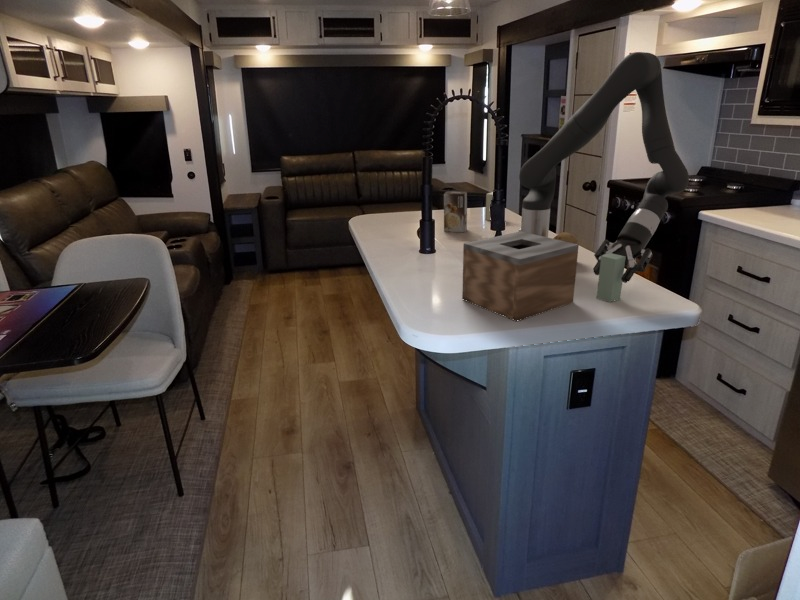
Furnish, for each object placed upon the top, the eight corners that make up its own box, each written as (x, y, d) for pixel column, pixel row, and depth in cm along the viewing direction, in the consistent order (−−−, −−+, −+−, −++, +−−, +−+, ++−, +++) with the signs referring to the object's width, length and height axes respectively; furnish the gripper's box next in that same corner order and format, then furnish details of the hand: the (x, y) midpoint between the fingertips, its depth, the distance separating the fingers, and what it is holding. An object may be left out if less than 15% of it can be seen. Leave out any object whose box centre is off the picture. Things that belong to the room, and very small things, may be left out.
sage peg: (596, 298, 148) (601, 255, 144) (606, 294, 151) (611, 253, 146) (610, 302, 145) (615, 259, 141) (620, 298, 147) (625, 256, 143)
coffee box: (467, 229, 231) (468, 191, 225) (464, 232, 225) (465, 194, 219) (446, 228, 233) (446, 191, 228) (443, 231, 228) (443, 193, 222)
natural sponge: (554, 256, 188) (556, 228, 185) (580, 259, 184) (583, 231, 180) (546, 263, 181) (548, 233, 177) (573, 266, 176) (576, 236, 173)
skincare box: (491, 217, 252) (492, 191, 248) (500, 218, 250) (501, 192, 246) (484, 220, 248) (485, 193, 244) (493, 221, 245) (494, 194, 241)
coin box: (462, 299, 149) (463, 243, 143) (517, 284, 161) (520, 231, 155) (516, 321, 133) (520, 259, 128) (572, 302, 145) (578, 244, 140)
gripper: (611, 217, 150) (581, 264, 148) (660, 225, 139) (628, 276, 137) (620, 233, 155) (591, 278, 153) (668, 242, 144) (637, 291, 142)
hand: (609, 277), depth 145 cm, fingers open, 8 cm apart
